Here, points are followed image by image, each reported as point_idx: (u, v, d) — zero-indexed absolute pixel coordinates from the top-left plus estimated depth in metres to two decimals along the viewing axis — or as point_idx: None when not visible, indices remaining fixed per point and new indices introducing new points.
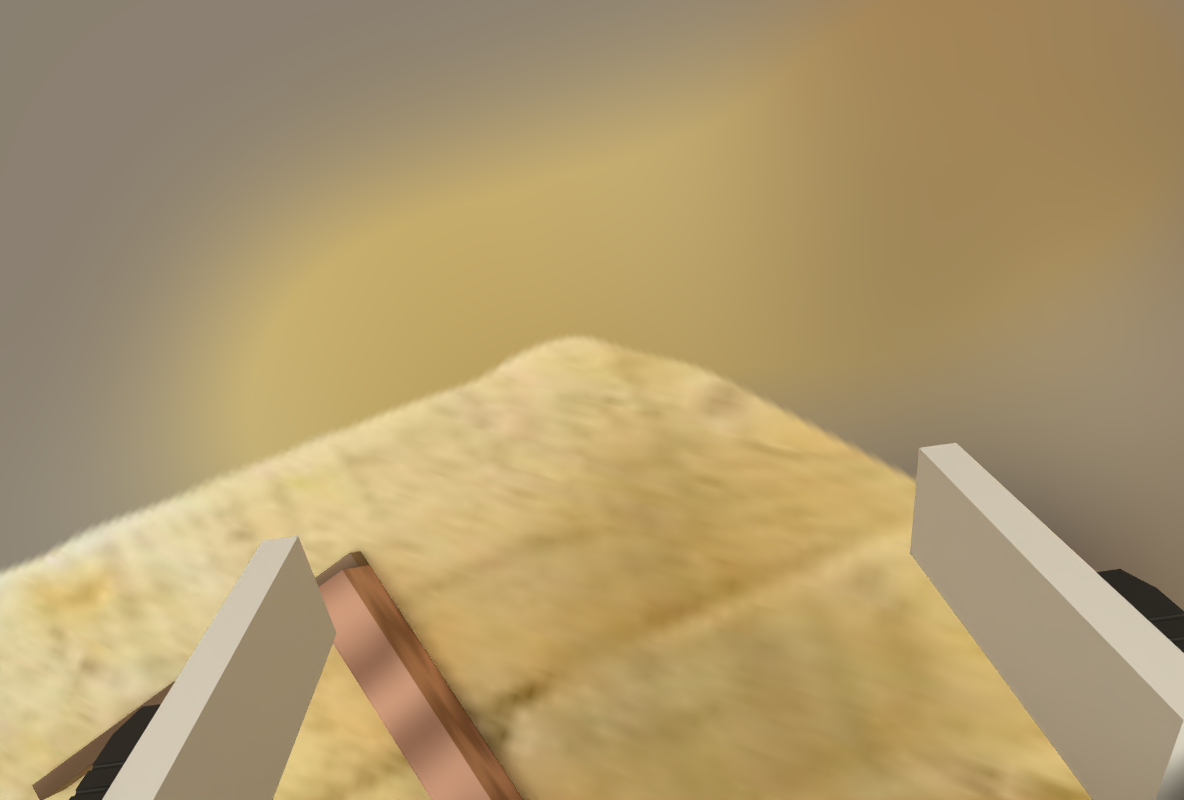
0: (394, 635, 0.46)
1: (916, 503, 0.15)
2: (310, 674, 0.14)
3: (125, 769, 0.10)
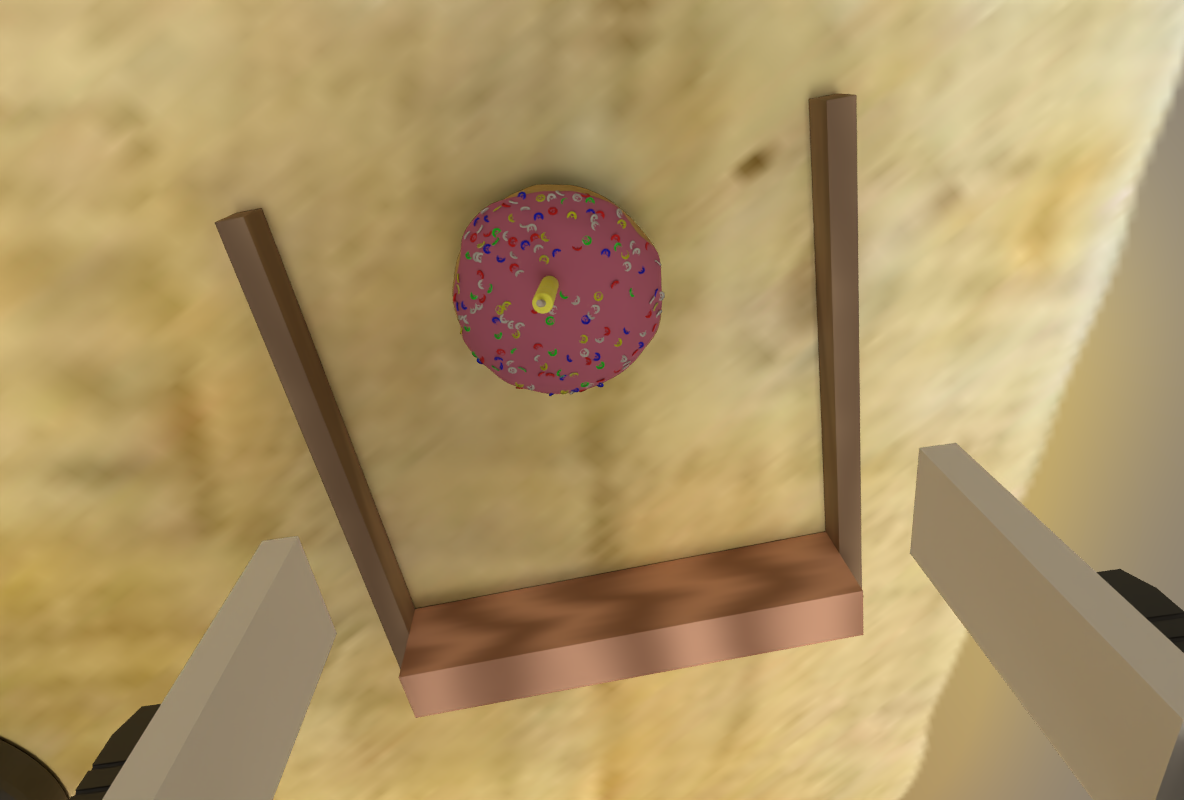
0: None
1: (916, 503, 0.15)
2: (310, 674, 0.14)
3: (125, 768, 0.10)
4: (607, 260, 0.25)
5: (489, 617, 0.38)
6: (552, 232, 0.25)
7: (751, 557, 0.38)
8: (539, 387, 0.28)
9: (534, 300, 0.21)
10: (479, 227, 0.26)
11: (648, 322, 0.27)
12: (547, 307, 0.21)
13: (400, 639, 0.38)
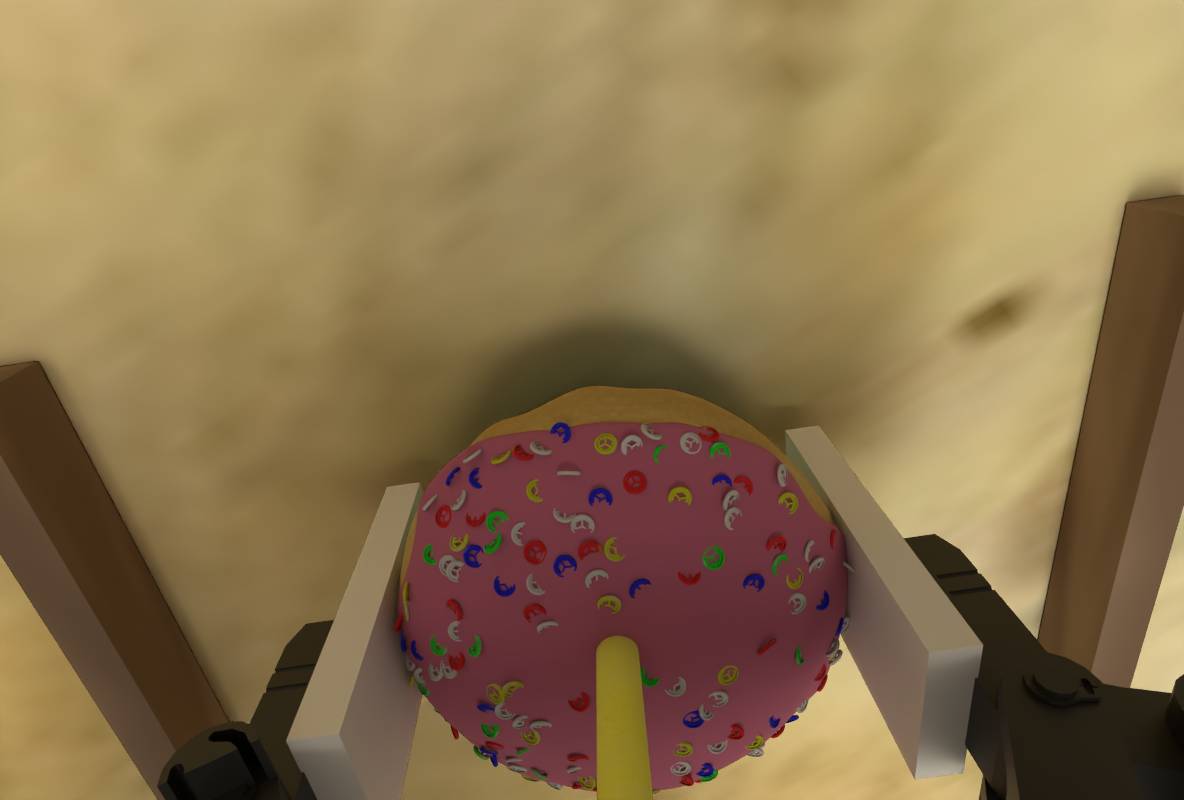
0: None
1: None
2: None
3: (320, 664, 0.11)
4: (755, 598, 0.11)
5: None
6: (631, 539, 0.10)
7: None
8: None
9: None
10: (458, 494, 0.11)
11: (815, 683, 0.13)
12: None
13: None
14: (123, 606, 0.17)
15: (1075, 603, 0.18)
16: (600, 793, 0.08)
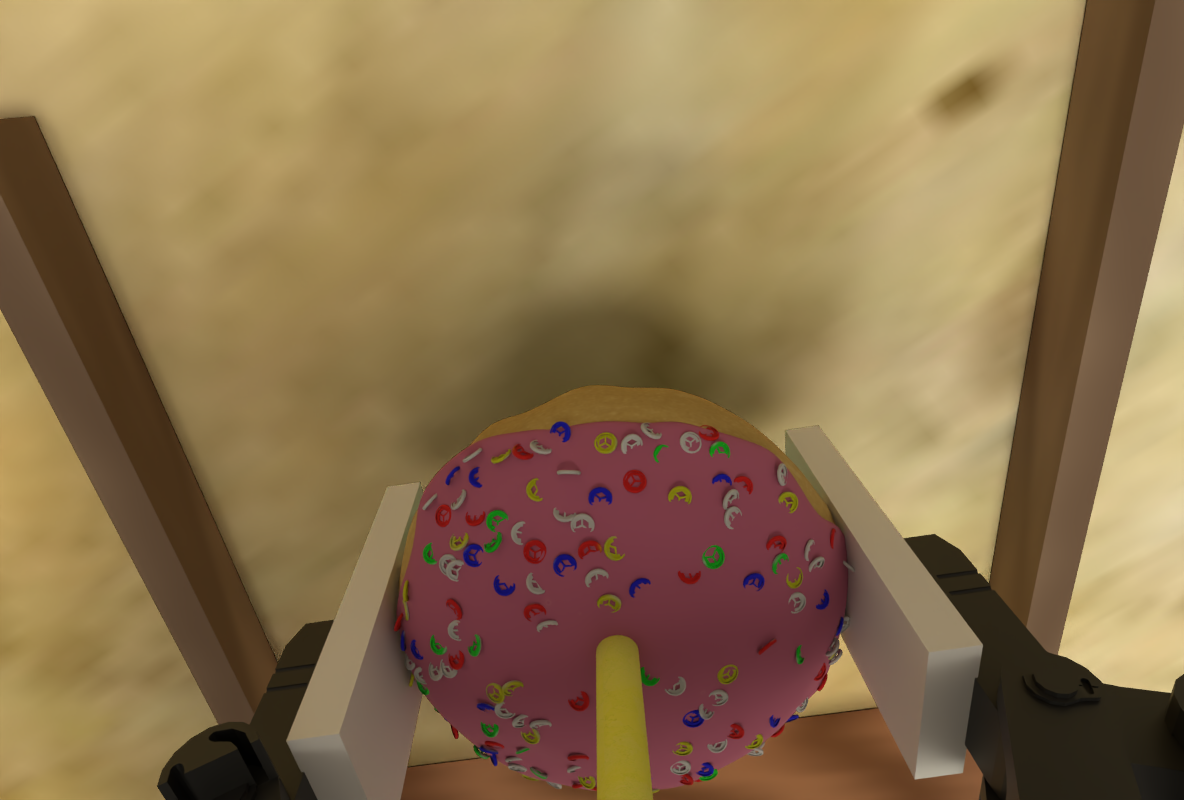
0: None
1: None
2: None
3: (320, 663, 0.11)
4: (756, 597, 0.11)
5: None
6: (631, 538, 0.10)
7: (857, 735, 0.24)
8: None
9: None
10: (458, 493, 0.11)
11: (815, 682, 0.13)
12: None
13: None
14: (115, 377, 0.17)
15: (1044, 406, 0.19)
16: (600, 792, 0.08)
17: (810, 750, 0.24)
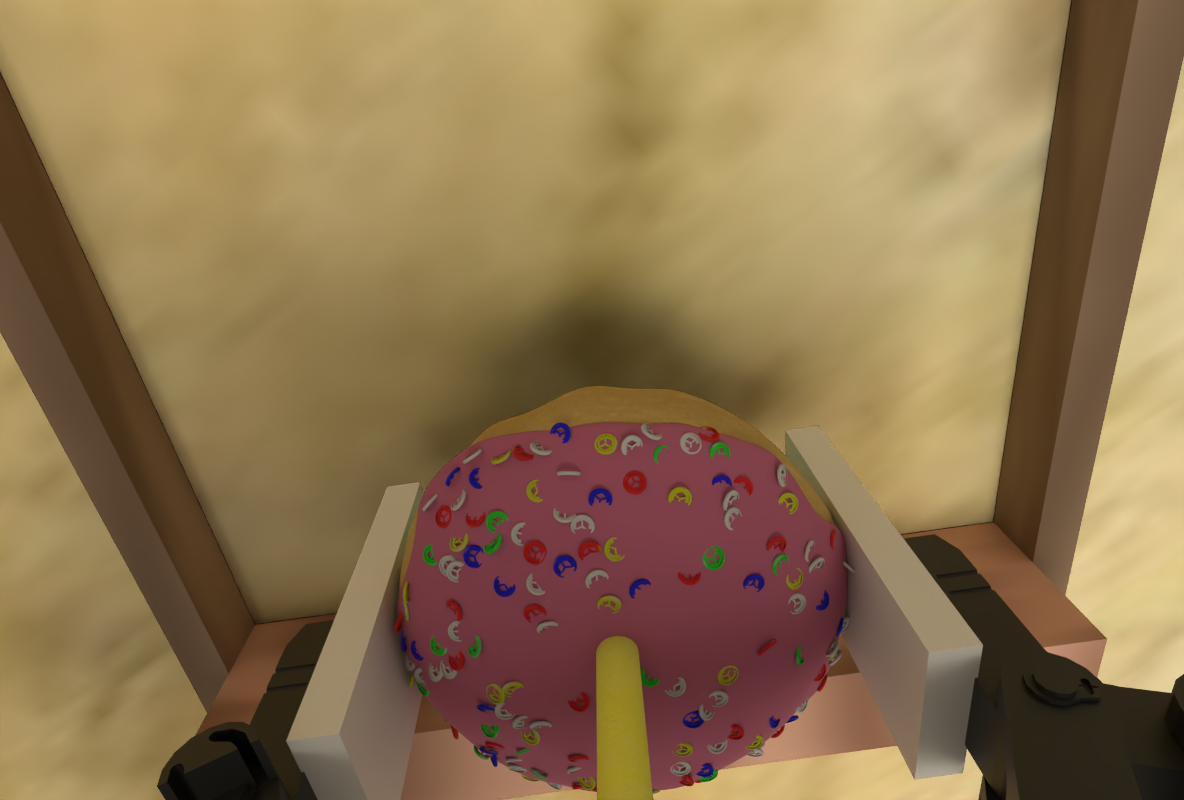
0: None
1: None
2: None
3: (320, 663, 0.11)
4: (756, 599, 0.11)
5: None
6: (631, 540, 0.10)
7: None
8: None
9: None
10: (458, 494, 0.11)
11: (815, 683, 0.13)
12: None
13: (213, 682, 0.21)
14: None
15: (1087, 97, 0.16)
16: (600, 793, 0.08)
17: None
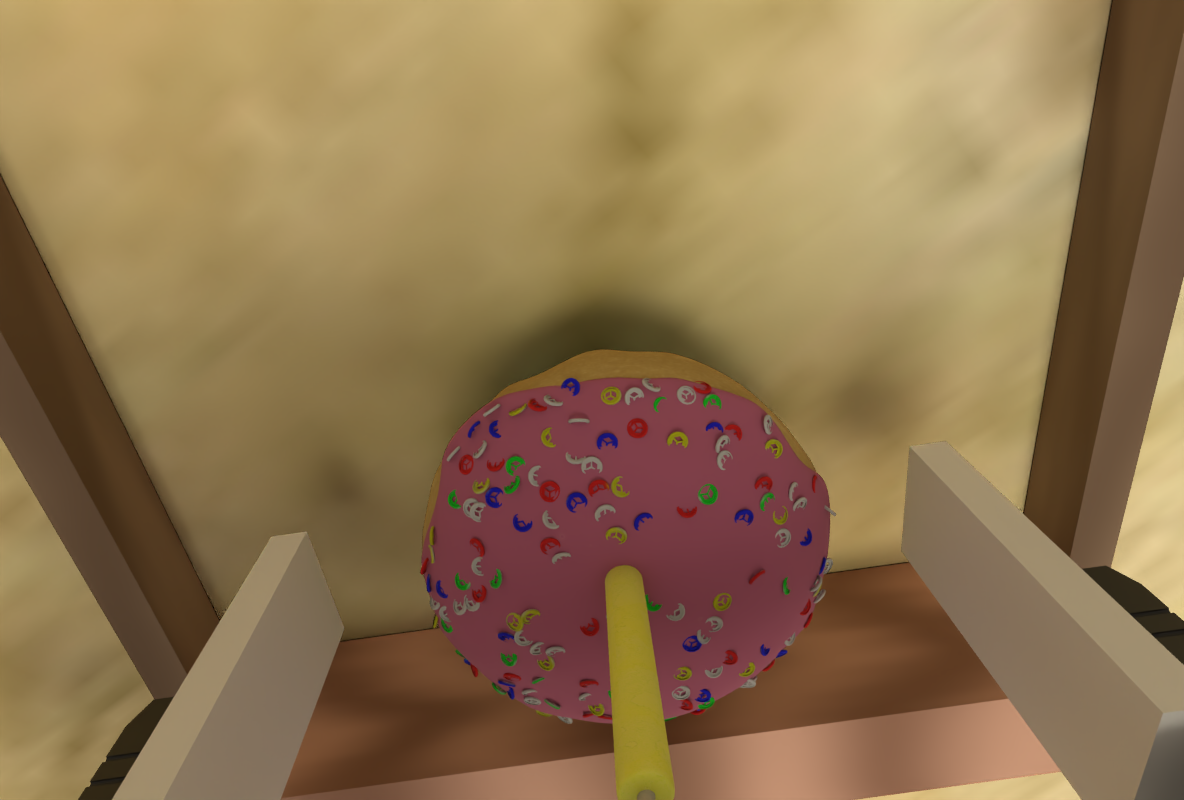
0: None
1: (907, 501, 0.15)
2: (319, 668, 0.14)
3: (140, 759, 0.10)
4: (745, 532, 0.12)
5: (367, 684, 0.19)
6: (634, 478, 0.11)
7: (881, 590, 0.20)
8: (581, 719, 0.15)
9: (625, 791, 0.07)
10: (479, 444, 0.12)
11: (801, 618, 0.14)
12: None
13: None
14: None
15: (1130, 97, 0.14)
16: (613, 679, 0.09)
17: (824, 607, 0.20)
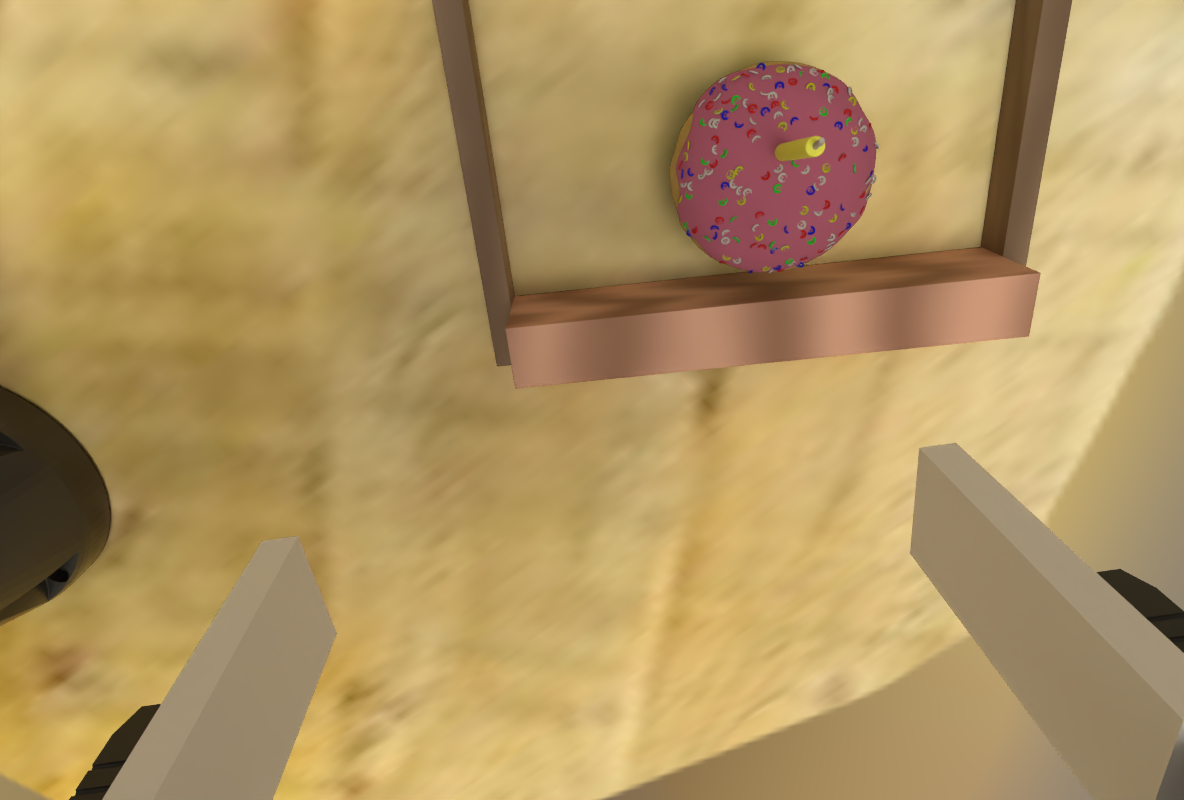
0: None
1: (916, 503, 0.15)
2: (310, 674, 0.14)
3: (125, 768, 0.10)
4: (839, 133, 0.26)
5: (602, 297, 0.34)
6: (791, 101, 0.26)
7: (898, 261, 0.34)
8: (745, 261, 0.29)
9: (808, 142, 0.22)
10: (716, 95, 0.27)
11: (859, 203, 0.28)
12: (819, 150, 0.22)
13: (500, 313, 0.34)
14: None
15: None
16: (793, 144, 0.24)
17: (865, 267, 0.34)
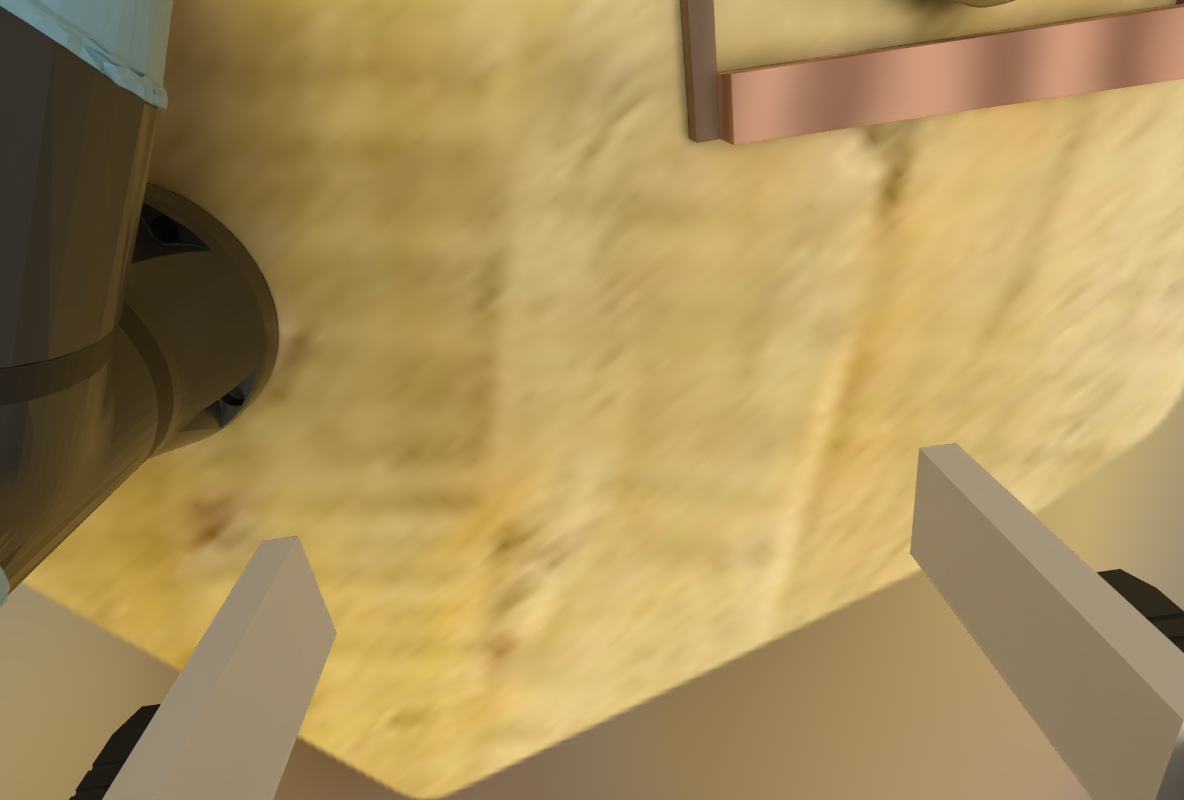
0: None
1: (916, 503, 0.15)
2: (309, 674, 0.14)
3: (125, 768, 0.10)
4: None
5: (808, 60, 0.33)
6: None
7: (1100, 16, 0.34)
8: None
9: None
10: None
11: None
12: None
13: (705, 80, 0.33)
14: None
15: None
16: None
17: (1069, 21, 0.34)
